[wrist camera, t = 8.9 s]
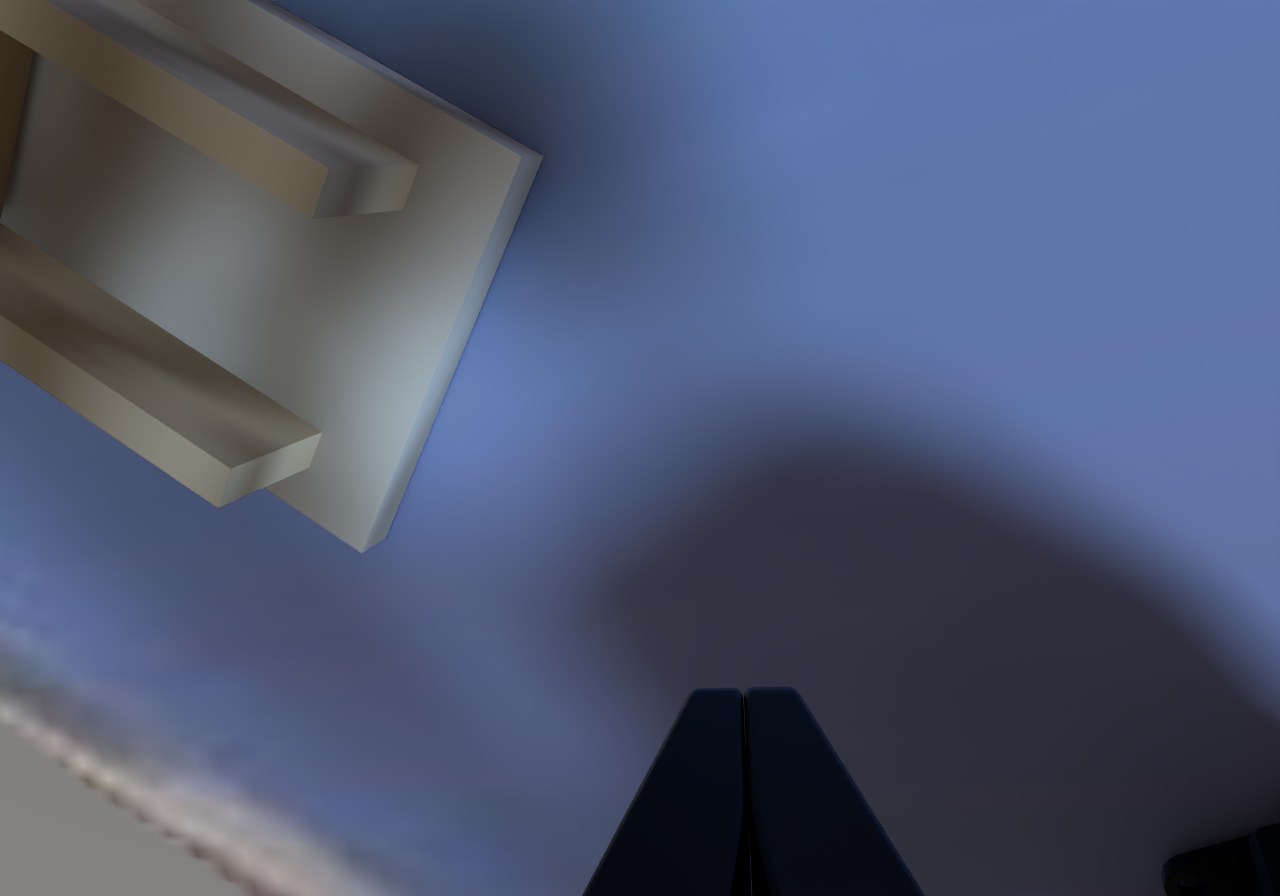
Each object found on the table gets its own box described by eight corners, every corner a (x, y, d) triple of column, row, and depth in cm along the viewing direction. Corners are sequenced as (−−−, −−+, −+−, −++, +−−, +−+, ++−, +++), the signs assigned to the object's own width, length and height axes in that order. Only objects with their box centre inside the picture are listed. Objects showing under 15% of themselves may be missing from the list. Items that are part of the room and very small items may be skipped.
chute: (543, 155, 21) (443, 158, 18) (385, 538, 25) (277, 604, 22) (-93, -205, 24) (-289, -266, 21) (-144, 187, 28) (-317, 193, 25)
